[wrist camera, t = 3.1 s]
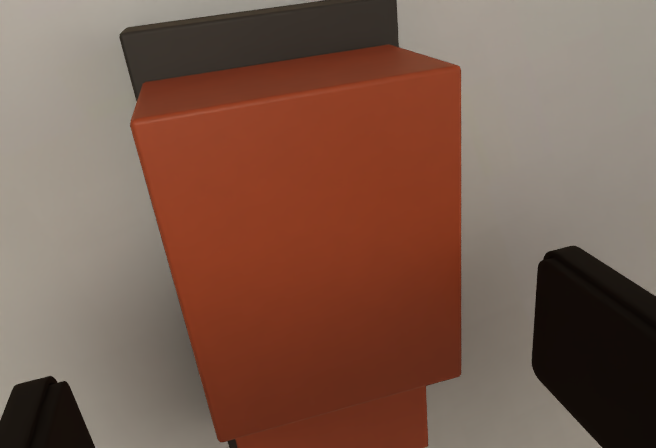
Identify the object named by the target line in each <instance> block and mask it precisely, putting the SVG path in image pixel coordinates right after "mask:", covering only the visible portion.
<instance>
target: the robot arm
mask: <svg viewBox="0 0 656 448" xmlns="http://www.w3.org/2000/svg"><path fill="white" fill-rule="evenodd" d="M532 367H533V370H534V373H535V375H536V376H537V378H538V379H539V380H540V381H541V382H542V384H543V385H544V386H545V387H546V388H547V389H548V390H549V391H550V392H551V393H552V394H553V395H554V396H555V397H556V399H557V400H558V401H559V402H560V403H561V404H562V405H563V406H564V407H565V408H566V409H567V410H568V411H569V412H570V413H571V415H572V416H573V417H574V418H575V419H576V420H577V421H578V422H579V423H580V424H581V425H582V426H583V427H584V428H585V430H586V431H587V432H588V433H589V434H590V435H591V436H592V437H593V438H594V439H595V440H596V441H597V442H598V443H599V444H600V446H601V447H602V448H656V296H654V295H653V294H651V293H649V292H648V291H646V290H645V289H643V288H642V287H640V286H639V285H637V284H635V283H634V282H632V281H631V280H629V279H628V278H626V277H625V276H623V275H621V274H620V273H618V272H617V271H615V270H614V269H612V268H610V267H609V266H607V265H606V264H604V263H603V262H601V261H600V260H598V259H596V258H595V257H593V256H592V255H590V254H589V253H587V252H585V251H584V250H582V249H581V248H579V247H577V246H569V247H565V248H561V249H557V250H553V251H549V252H547V253H546V254H545V256H544V259H543V260H542V261H540V263H539V264H538V272H537V287H536V303H535V318H534V333H533V348H532ZM0 448H95V446H94V444H93V441H92V439H91V436H90V434H89V432H88V429H87V427H86V424H85V422H84V420H83V417H82V415H81V412H80V410H79V408H78V405H77V403H76V400H75V398H74V396H73V393H72V391H71V388H70V386H69V384H68V383H67V382H66V381H63V382H59V383H57V381H56V379H55V378H54V377H52V376H48V377H44V378H40V379H36V380H32V381H28V382H24V383H20V384H17V385H15V386H14V388H13V390H12V392H11V394H10V397H9V400H8V402H7V405H6V407H5V410H4V412H3V415H2V418H1V420H0Z"/></svg>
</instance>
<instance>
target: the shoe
mask: <svg viewBox="0 0 656 448" xmlns="http://www.w3.org/2000/svg"><path fill="white" fill-rule="evenodd" d="M120 41H121V45H122V48H123V52H124V56H125V60H126V63H127V67H128V71H129V75H130V78H131V82H132V86H133V90H134V93H135V97H136V101H137V103H136V106H135V109H134V112H133V116H132V119H131V123H130V127H131V130H132V134H133V138H134V141H135V145H136V148H137V152H138V155H139V159H140V163H141V166H142V170H143V173H144V177H145V181H146V184H147V188H148V191H149V195H150V199H151V202H152V206H153V209H154V213H155V216H156V220H157V224H158V227H159V231H160V234H161V238H162V242H163V245H164V249H165V252H166V256H167V260H168V263H169V267H170V270H171V274H172V278H173V281H174V285H175V288H176V292H177V295H178V299H179V303H180V306H181V310H182V313H183V317H184V321H185V324H186V328H187V331H188V335H189V339H190V342H191V346H192V349H193V353H194V356H195V360H196V364H197V367H198V371H199V374H200V378H201V382H202V385H203V389H204V392H205V396H206V400H207V403H208V407H209V410H210V414H211V417H212V421H213V425H214V428H215V432H216V435H217V439H218V440H219V441H220V442H226V441H228V444H229V448H424V447H427V446H428V428H427V402H426V386H427V385H431V384H434V383H438V382H442V381H445V380H449V379H452V378H456V377H459V376H460V375H461V69H460V67H459V66H457V65H454V64H451V63H448V62H444V61H441V60H438V59H435V58H432V57H428V56H425V55H422V54H419V53H415V52H412V51H409V50H406V49H402V48H399V42H398V22H397V2H396V0H325V1H318V2H310V3H303V4H296V5H288V6H281V7H274V8H266V9H259V10H252V11H244V12H237V13H230V14H222V15H215V16H208V17H200V18H193V19H186V20H178V21H171V22H164V23H156V24H149V25H142V26H135V27H128V28H126V29H125V30H124V31H123V32H122V33H121V34H120Z"/></svg>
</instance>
